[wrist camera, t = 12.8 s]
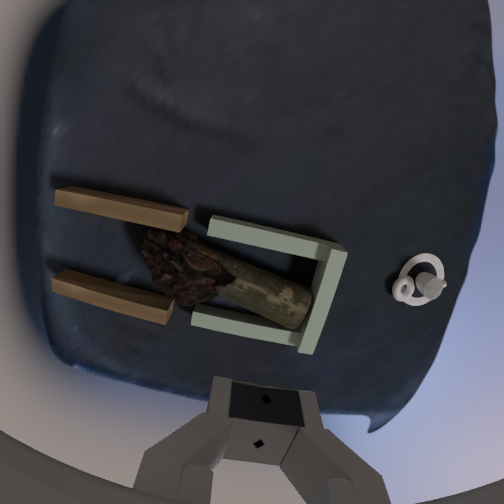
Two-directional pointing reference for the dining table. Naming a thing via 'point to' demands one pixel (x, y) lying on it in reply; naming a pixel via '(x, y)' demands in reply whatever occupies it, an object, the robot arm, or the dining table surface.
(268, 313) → the dark piece
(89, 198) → the oak channel
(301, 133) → the dining table surface
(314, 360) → the dining table surface
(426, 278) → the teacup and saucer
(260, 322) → the frame
